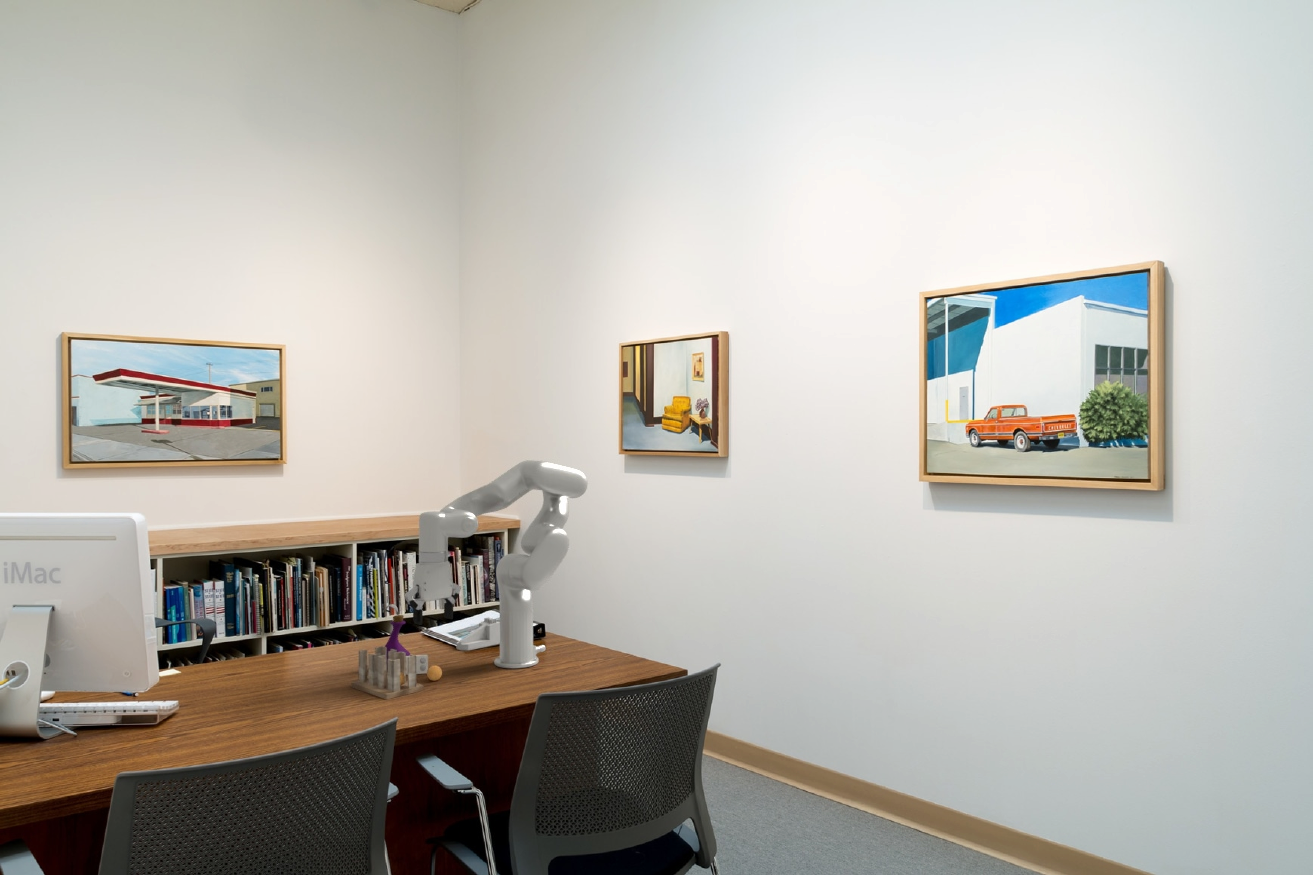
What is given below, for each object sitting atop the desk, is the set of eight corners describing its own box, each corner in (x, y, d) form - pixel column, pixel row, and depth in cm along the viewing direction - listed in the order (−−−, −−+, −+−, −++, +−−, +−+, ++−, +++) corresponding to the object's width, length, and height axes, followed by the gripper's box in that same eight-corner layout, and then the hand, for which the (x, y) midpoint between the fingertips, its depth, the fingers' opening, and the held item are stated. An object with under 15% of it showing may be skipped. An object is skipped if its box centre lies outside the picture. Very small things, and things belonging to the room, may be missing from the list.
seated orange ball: (399, 683, 236) (399, 668, 236) (408, 686, 233) (408, 671, 233) (385, 687, 233) (385, 671, 233) (394, 690, 230) (394, 674, 230)
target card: (398, 674, 249) (398, 656, 249) (428, 672, 251) (428, 654, 251) (398, 675, 249) (398, 657, 249) (428, 673, 251) (428, 655, 251)
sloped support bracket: (453, 648, 280) (453, 623, 280) (500, 639, 293) (500, 614, 293) (464, 651, 276) (464, 625, 276) (511, 641, 289) (511, 616, 289)
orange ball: (436, 677, 246) (436, 662, 246) (445, 680, 244) (445, 665, 244) (423, 680, 243) (423, 665, 243) (432, 683, 241) (432, 668, 241)
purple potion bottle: (410, 664, 260) (410, 602, 260) (400, 671, 253) (400, 607, 252) (385, 664, 261) (385, 601, 261) (375, 671, 253) (374, 606, 253)
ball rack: (387, 678, 246) (387, 644, 246) (424, 689, 235) (423, 654, 235) (350, 686, 238) (350, 651, 237) (386, 699, 226) (386, 662, 226)
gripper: (451, 553, 252) (451, 614, 252) (397, 559, 239) (397, 624, 239) (468, 555, 247) (468, 618, 247) (413, 562, 234) (413, 628, 234)
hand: (433, 621), depth 243 cm, fingers open, 9 cm apart
